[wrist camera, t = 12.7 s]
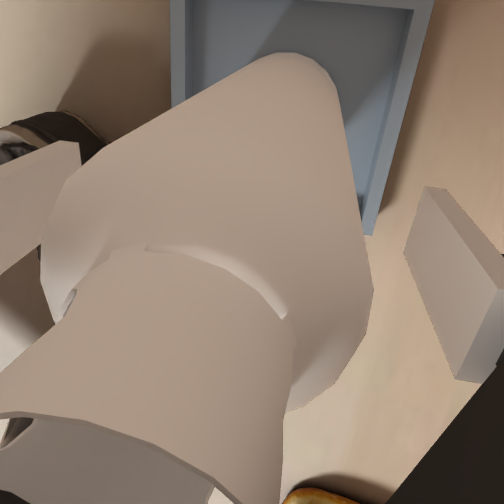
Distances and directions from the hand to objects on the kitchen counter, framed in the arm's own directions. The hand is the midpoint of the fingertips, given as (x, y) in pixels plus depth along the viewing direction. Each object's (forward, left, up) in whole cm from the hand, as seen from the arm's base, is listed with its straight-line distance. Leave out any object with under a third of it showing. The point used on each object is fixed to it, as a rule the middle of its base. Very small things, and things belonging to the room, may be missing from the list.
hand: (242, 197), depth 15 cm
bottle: (0, 0, -17) cm, 17 cm away
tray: (0, 0, -17) cm, 17 cm away
